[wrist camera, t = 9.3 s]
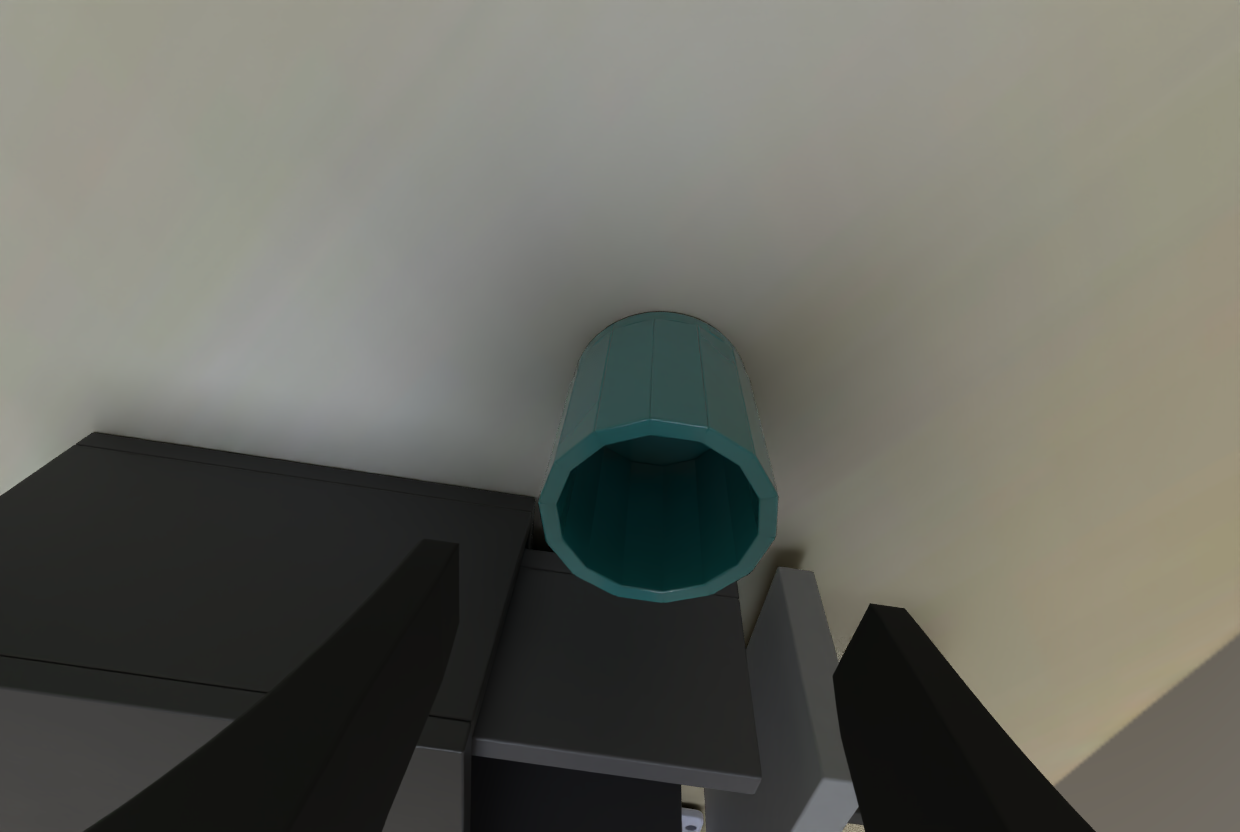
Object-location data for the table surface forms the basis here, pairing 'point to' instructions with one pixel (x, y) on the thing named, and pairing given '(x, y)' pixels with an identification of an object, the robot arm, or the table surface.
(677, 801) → the drawer
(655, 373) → the container
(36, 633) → the dark grey storage box
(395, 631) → the robot arm
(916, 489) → the table surface
